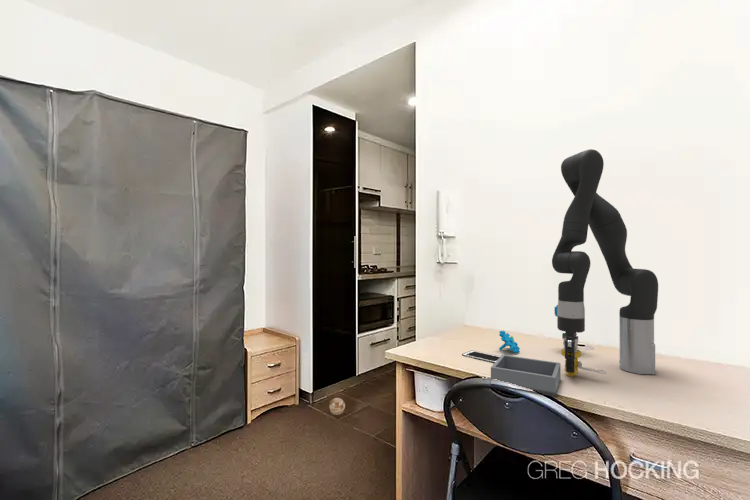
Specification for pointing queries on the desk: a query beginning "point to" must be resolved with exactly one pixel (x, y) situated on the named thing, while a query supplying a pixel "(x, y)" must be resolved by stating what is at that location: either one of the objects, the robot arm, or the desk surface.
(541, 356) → the desk surface
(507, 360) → the bin
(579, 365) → the pressure relief valve
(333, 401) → the trinket box
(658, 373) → the desk surface
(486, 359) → the cell phone
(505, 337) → the blue blocky piece
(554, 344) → the desk surface
